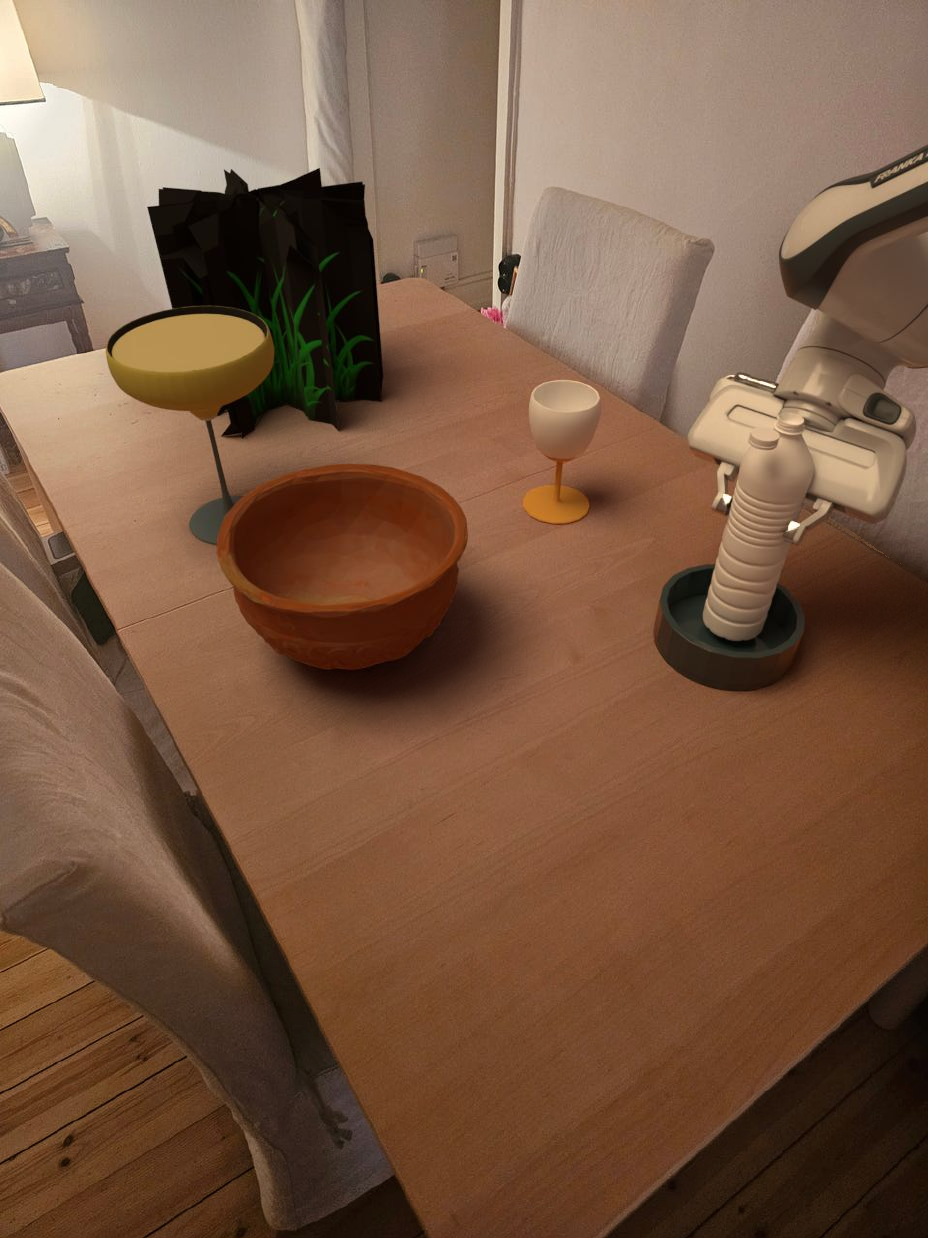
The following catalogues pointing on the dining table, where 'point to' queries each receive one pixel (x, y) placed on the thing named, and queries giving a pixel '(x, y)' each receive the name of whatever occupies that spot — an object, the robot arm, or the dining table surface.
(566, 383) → the cup
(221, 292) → the decorative plant
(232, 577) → the bowl
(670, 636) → the holder
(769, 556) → the water bottle
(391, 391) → the dining table surface
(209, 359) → the cocktail glass
